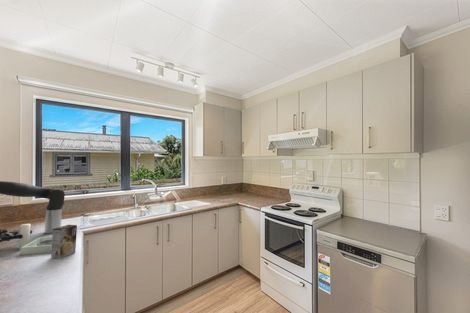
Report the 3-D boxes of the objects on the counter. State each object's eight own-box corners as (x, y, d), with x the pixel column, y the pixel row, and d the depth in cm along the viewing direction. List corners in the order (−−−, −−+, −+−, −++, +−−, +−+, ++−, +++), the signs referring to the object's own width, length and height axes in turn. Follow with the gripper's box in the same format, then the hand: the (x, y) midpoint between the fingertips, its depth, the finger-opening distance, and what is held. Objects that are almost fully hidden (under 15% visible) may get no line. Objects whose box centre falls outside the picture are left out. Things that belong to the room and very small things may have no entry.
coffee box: (67, 251, 121) (69, 224, 122) (75, 252, 120) (77, 225, 121) (50, 257, 112) (52, 228, 113) (59, 259, 111) (61, 229, 112)
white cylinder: (21, 246, 126) (23, 223, 127) (30, 245, 127) (32, 223, 128) (16, 249, 122) (18, 225, 123) (25, 248, 123) (27, 225, 124)
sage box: (39, 243, 132) (40, 237, 132) (68, 241, 137) (69, 235, 137) (20, 254, 115) (20, 247, 115) (54, 251, 119) (54, 245, 120)
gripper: (-17, 233, 114) (19, 231, 119) (3, 226, 127) (35, 225, 132) (-19, 247, 113) (18, 244, 118) (2, 238, 127) (34, 236, 132)
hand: (27, 234), depth 125 cm, fingers open, 8 cm apart
